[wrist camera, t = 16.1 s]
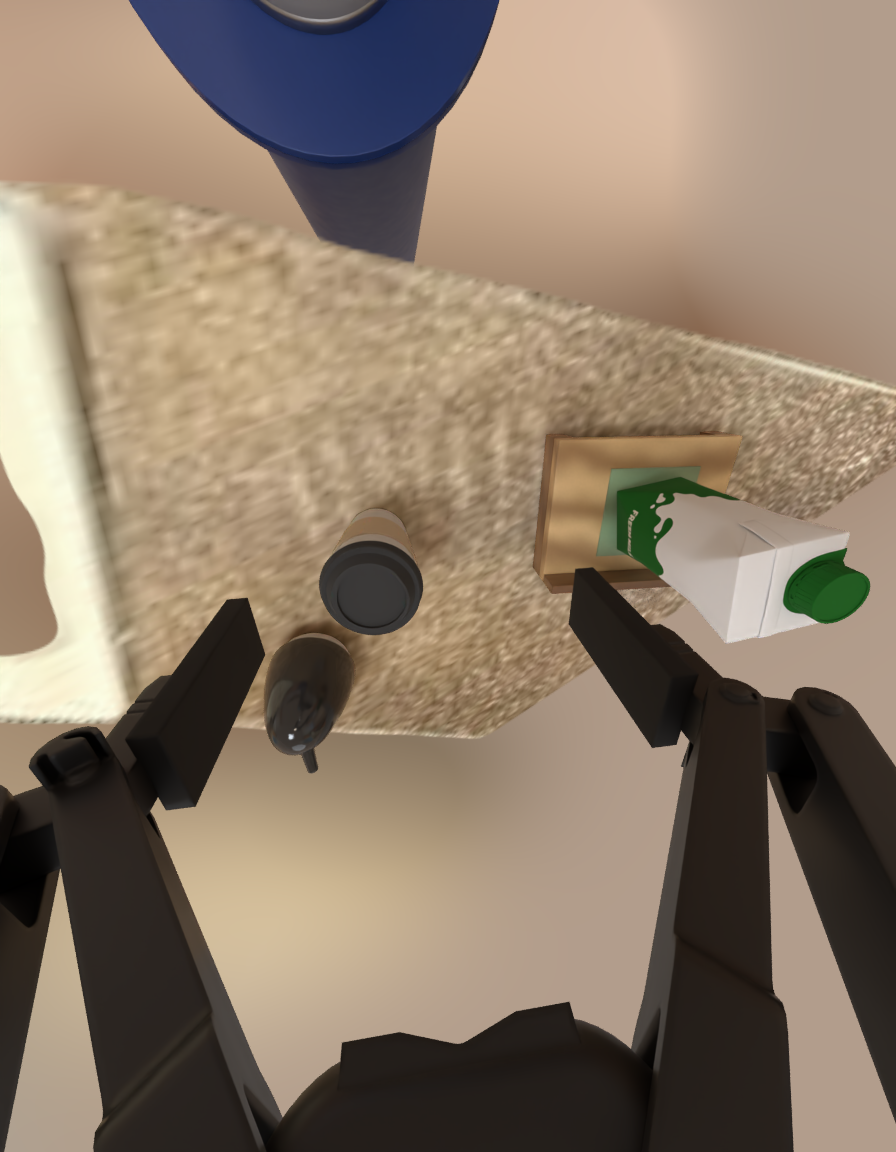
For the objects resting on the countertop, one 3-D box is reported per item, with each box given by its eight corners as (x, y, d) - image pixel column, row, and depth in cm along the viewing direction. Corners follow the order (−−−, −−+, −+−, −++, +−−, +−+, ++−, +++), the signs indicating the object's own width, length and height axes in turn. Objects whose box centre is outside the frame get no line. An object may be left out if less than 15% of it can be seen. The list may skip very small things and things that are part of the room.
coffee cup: (356, 581, 49) (341, 659, 36) (324, 513, 45) (294, 573, 32) (426, 558, 49) (438, 628, 36) (401, 488, 45) (403, 537, 31)
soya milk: (682, 540, 47) (857, 642, 29) (607, 557, 47) (736, 671, 29) (689, 465, 43) (896, 531, 25) (606, 484, 43) (756, 564, 25)
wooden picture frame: (546, 434, 44) (570, 444, 38) (716, 431, 46) (766, 440, 40) (532, 567, 51) (551, 594, 45) (680, 559, 53) (718, 584, 47)
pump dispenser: (295, 691, 56) (264, 793, 42) (264, 631, 51) (217, 724, 37) (368, 674, 56) (359, 770, 42) (343, 612, 51) (324, 698, 37)
